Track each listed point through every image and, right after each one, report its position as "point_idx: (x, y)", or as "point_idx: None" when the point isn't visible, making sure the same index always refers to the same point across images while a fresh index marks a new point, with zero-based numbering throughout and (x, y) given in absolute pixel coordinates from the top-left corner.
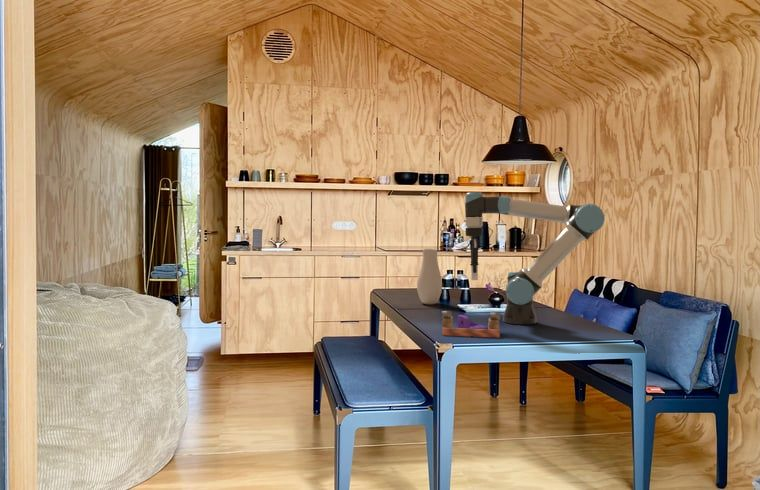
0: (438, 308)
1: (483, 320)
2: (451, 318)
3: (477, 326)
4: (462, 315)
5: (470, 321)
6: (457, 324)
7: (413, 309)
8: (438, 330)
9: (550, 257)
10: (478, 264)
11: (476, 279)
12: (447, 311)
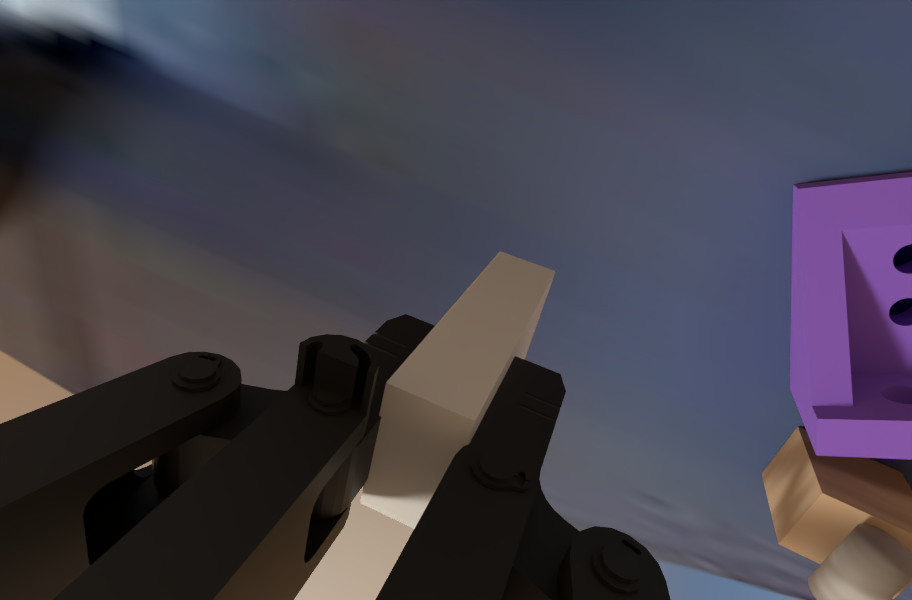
0: (29, 181)
1: (440, 24)
2: (902, 537)
3: (903, 278)
4: (846, 425)
5: (846, 330)
6: (801, 411)
7: (85, 333)
8: (746, 493)
9: None
10: (375, 363)
11: (546, 295)
12: (881, 595)
